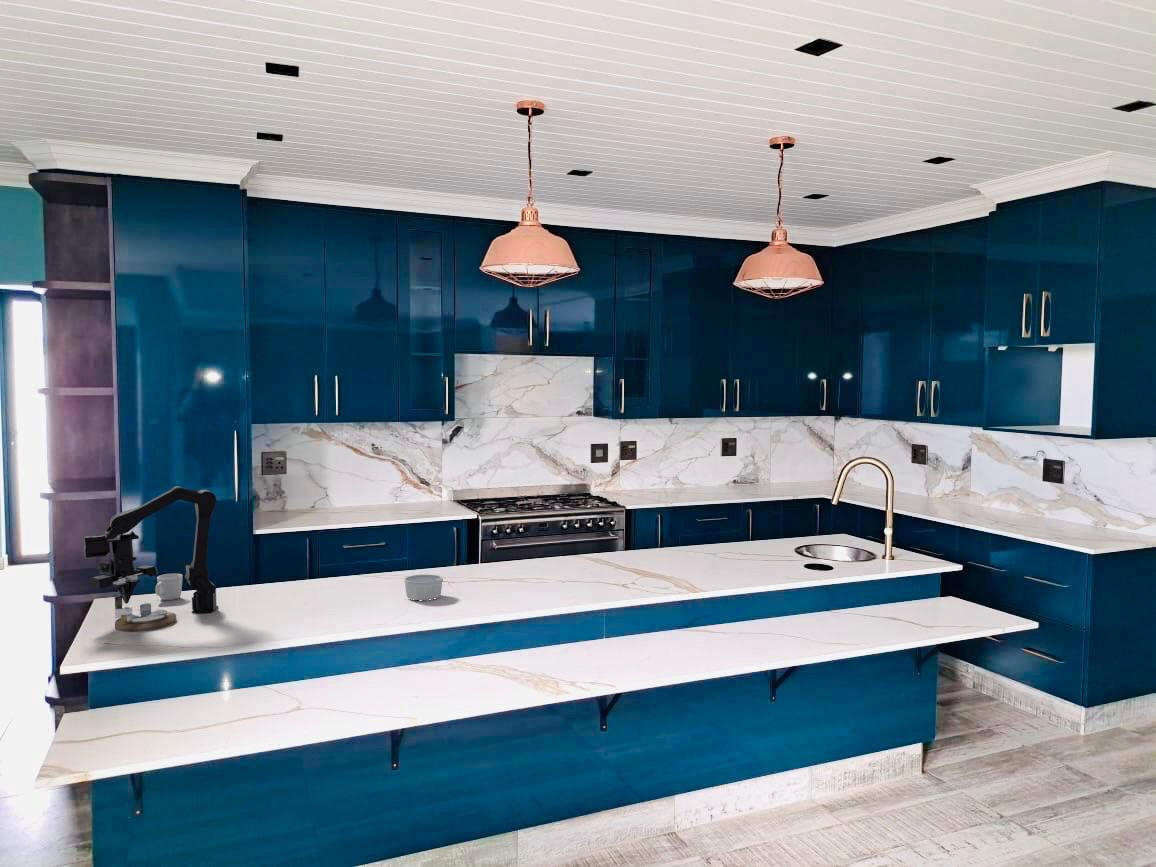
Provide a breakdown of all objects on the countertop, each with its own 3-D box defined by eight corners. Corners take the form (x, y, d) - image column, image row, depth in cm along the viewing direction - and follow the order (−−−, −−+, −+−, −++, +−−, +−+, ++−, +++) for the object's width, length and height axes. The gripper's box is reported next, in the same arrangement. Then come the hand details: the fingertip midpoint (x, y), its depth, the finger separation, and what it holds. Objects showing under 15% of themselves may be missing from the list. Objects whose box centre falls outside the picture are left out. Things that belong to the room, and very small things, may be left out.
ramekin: (437, 591, 301) (437, 572, 301) (447, 600, 289) (447, 580, 289) (400, 595, 295) (400, 576, 295) (409, 604, 283) (409, 584, 283)
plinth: (184, 615, 270) (184, 601, 270) (163, 630, 253) (163, 615, 253) (129, 616, 269) (129, 603, 268) (104, 632, 252) (104, 617, 251)
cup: (167, 604, 284) (166, 581, 284) (146, 603, 286) (145, 579, 285) (188, 596, 295) (187, 574, 294) (168, 595, 296) (167, 573, 296)
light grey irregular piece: (174, 612, 267) (174, 591, 266) (154, 623, 255) (153, 601, 254) (126, 612, 267) (126, 591, 267) (104, 623, 255) (103, 601, 255)
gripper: (135, 546, 274) (139, 593, 275) (78, 558, 258) (81, 608, 259) (156, 549, 269) (160, 597, 270) (98, 561, 253) (102, 612, 254)
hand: (126, 603), depth 263 cm, fingers closed
